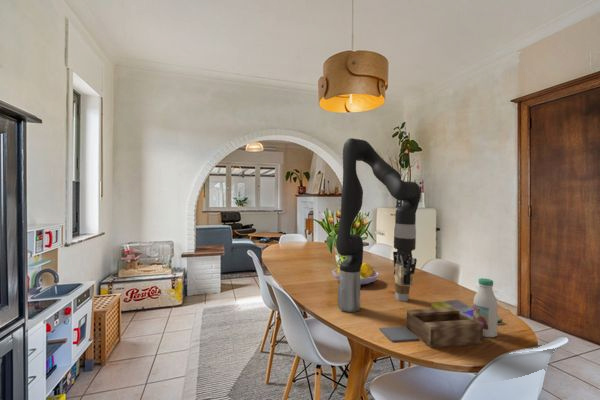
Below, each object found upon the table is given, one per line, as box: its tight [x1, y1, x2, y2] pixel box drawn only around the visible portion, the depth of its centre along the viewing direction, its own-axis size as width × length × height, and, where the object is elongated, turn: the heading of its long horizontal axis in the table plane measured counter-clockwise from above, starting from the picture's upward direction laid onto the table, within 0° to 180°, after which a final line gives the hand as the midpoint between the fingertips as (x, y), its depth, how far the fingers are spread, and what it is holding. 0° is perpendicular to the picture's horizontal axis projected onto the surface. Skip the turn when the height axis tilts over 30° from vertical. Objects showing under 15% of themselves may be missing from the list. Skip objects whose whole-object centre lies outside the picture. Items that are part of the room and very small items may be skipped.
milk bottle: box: [472, 277, 499, 338], centre depth 111 cm, size 8×8×20 cm
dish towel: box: [430, 299, 505, 326], centre depth 129 cm, size 18×24×3 cm
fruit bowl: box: [331, 262, 380, 286], centre depth 178 cm, size 28×27×11 cm
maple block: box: [394, 264, 414, 287], centre depth 110 cm, size 4×4×7 cm
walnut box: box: [406, 307, 484, 349], centre depth 109 cm, size 20×15×7 cm
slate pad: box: [378, 325, 419, 343], centre depth 109 cm, size 10×10×1 cm
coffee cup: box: [393, 269, 411, 302], centre depth 147 cm, size 8×8×15 cm
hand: (403, 282), depth 110 cm, fingers closed on maple block, 4 cm apart
